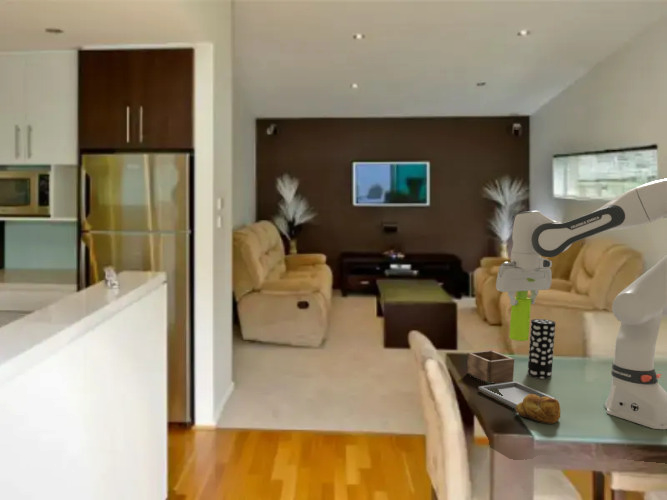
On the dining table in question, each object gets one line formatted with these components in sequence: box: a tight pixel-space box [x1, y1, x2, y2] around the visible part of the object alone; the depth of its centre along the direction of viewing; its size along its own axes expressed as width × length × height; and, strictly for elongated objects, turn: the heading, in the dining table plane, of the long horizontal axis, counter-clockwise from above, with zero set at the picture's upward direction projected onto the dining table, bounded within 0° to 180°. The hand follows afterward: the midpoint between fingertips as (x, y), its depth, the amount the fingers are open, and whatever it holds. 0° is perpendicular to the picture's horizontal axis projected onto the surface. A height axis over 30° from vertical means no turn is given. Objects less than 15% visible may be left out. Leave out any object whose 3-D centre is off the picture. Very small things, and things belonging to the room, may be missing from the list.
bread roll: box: [515, 394, 562, 425], centre depth 183 cm, size 13×10×8 cm
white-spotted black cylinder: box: [527, 318, 556, 380], centre depth 225 cm, size 8×8×20 cm
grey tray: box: [478, 381, 557, 411], centre depth 201 cm, size 18×16×2 cm
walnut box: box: [466, 349, 515, 384], centre depth 221 cm, size 12×11×8 cm
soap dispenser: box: [509, 278, 536, 342], centre depth 198 cm, size 6×7×20 cm
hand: (522, 304), depth 198 cm, fingers closed on soap dispenser, 6 cm apart
